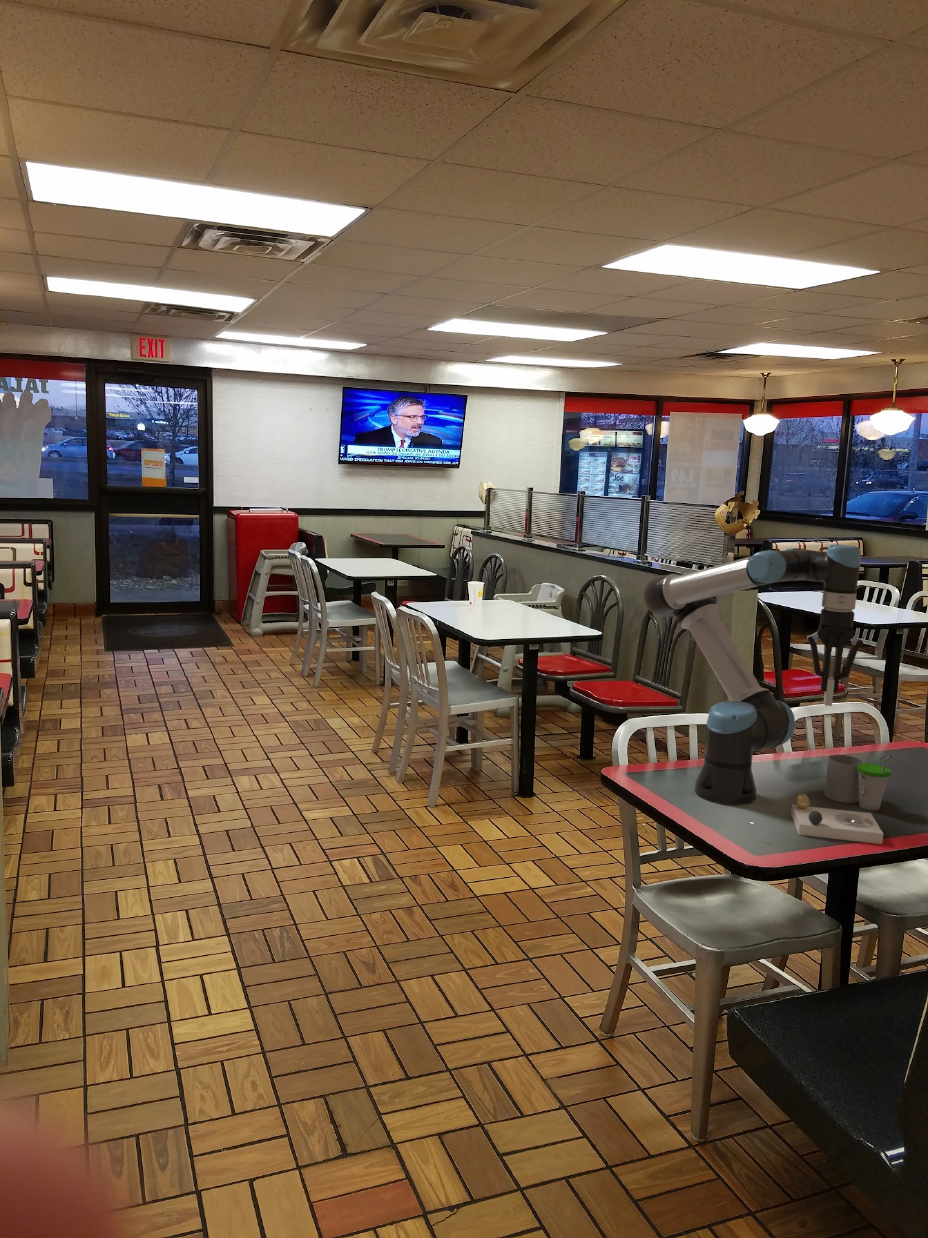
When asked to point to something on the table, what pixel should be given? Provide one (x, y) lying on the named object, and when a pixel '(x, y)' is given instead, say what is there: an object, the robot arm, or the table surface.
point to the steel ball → (855, 821)
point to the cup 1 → (843, 778)
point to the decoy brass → (802, 801)
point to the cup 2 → (872, 784)
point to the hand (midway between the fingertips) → (827, 704)
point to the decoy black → (815, 817)
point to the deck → (837, 825)
